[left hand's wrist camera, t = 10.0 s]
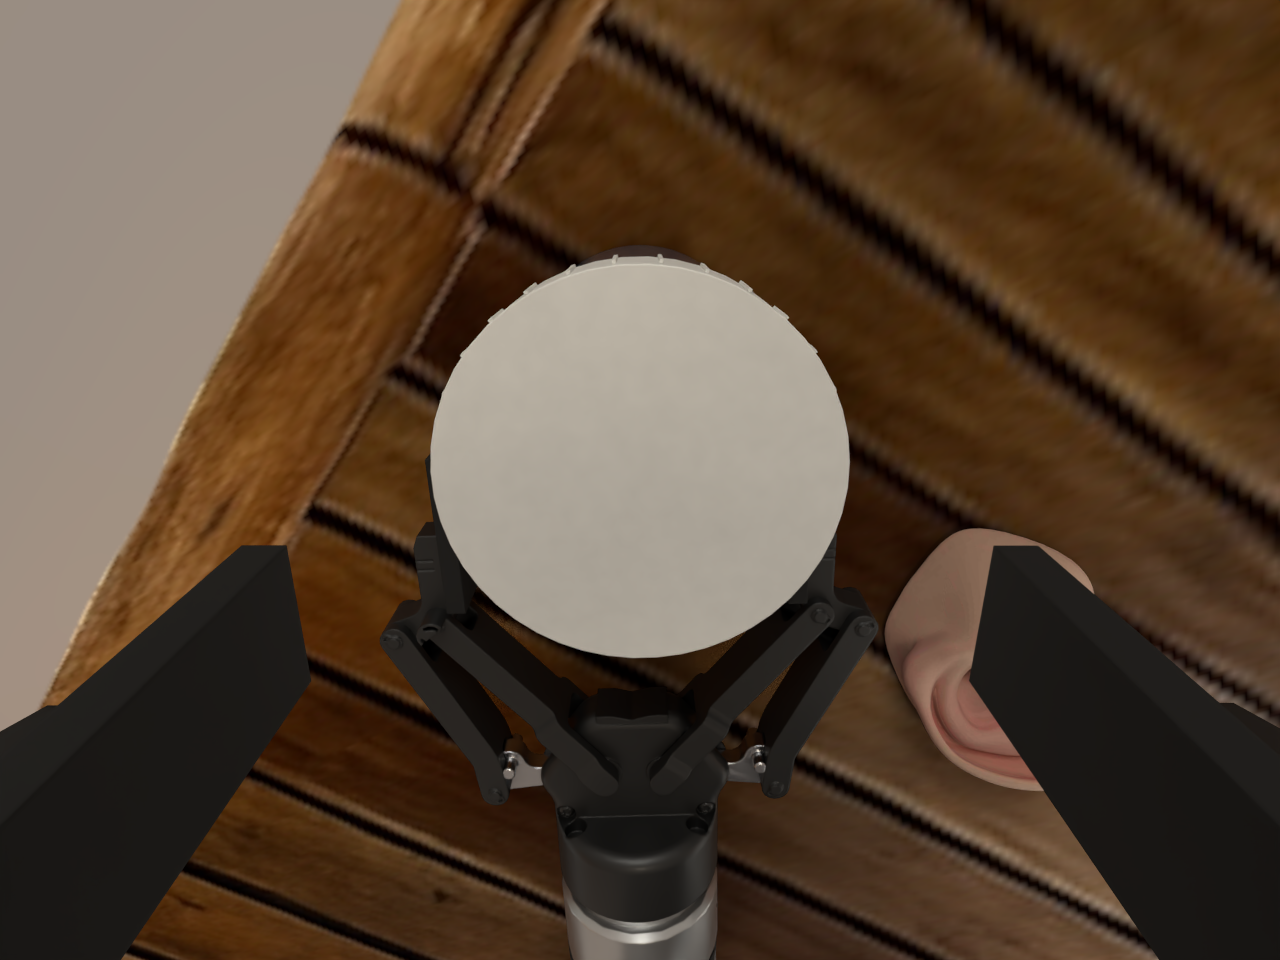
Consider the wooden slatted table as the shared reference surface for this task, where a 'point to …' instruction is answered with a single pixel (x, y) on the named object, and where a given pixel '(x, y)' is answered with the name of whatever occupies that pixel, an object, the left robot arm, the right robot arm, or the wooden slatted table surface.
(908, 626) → the anatomical model
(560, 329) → the lid
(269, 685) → the left robot arm
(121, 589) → the wooden slatted table surface
